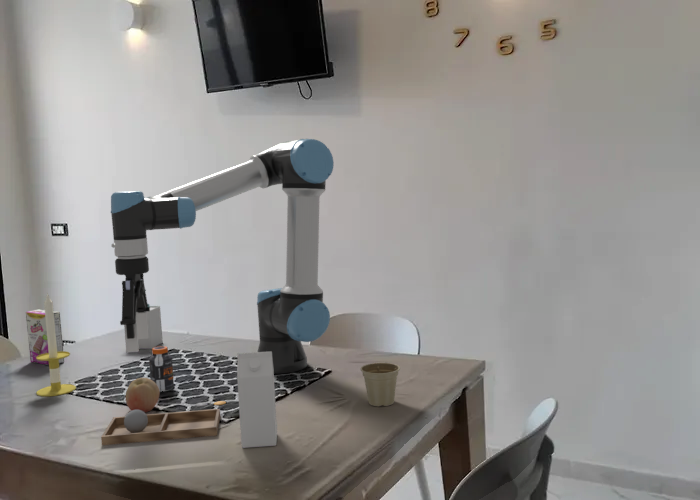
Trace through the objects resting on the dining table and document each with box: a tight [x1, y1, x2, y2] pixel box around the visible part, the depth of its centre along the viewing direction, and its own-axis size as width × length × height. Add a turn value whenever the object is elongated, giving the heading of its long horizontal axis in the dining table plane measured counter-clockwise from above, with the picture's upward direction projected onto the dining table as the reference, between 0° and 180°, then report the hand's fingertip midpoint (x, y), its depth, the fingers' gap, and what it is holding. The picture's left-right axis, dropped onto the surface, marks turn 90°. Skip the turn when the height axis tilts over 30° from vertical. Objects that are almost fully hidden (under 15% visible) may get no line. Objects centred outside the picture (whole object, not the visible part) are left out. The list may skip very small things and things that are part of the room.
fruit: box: [124, 377, 161, 413], centre depth 169 cm, size 8×8×8 cm
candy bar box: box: [25, 308, 65, 366], centre depth 221 cm, size 11×5×16 cm, turn 58°
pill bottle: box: [148, 345, 175, 393], centre depth 187 cm, size 6×6×11 cm
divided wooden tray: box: [100, 408, 221, 446], centre depth 155 cm, size 24×12×2 cm, turn 97°
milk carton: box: [236, 351, 278, 449], centre depth 146 cm, size 7×7×19 cm
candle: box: [36, 292, 77, 398], centre depth 189 cm, size 10×10×27 cm
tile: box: [194, 400, 227, 407], centre depth 172 cm, size 10×7×1 cm
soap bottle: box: [136, 289, 163, 350], centre depth 238 cm, size 9×9×19 cm
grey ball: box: [124, 410, 148, 433], centre depth 154 cm, size 5×5×5 cm
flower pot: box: [360, 362, 401, 407], centre depth 168 cm, size 9×9×9 cm
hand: (137, 345), depth 168 cm, fingers open, 13 cm apart
